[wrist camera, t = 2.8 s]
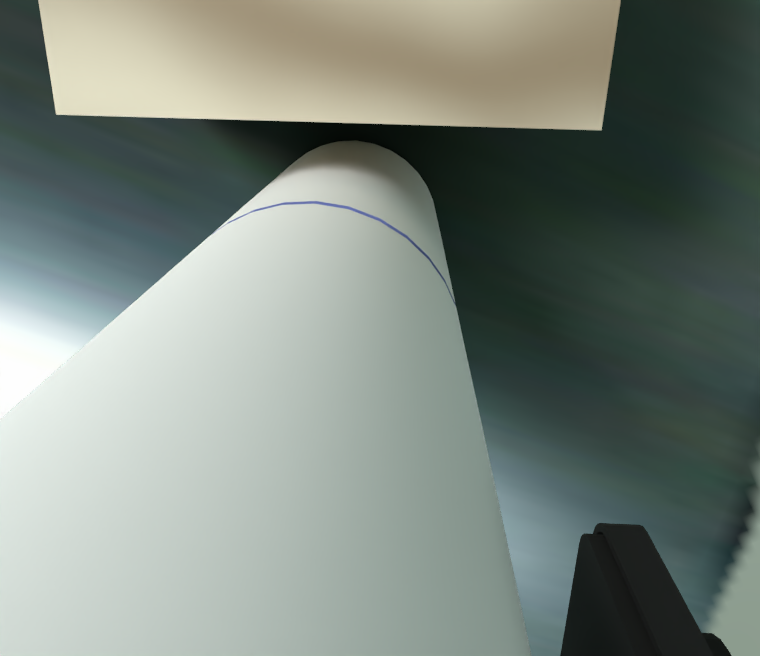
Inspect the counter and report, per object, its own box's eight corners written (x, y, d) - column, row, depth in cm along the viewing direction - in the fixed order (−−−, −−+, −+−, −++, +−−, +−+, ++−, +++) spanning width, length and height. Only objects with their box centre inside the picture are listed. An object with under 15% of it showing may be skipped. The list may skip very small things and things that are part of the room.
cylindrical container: (466, 259, 28) (796, 1274, 4) (325, 334, 29) (17, 1381, 6) (383, 105, 25) (160, 533, 2) (234, 196, 27) (-820, 1007, 4)
